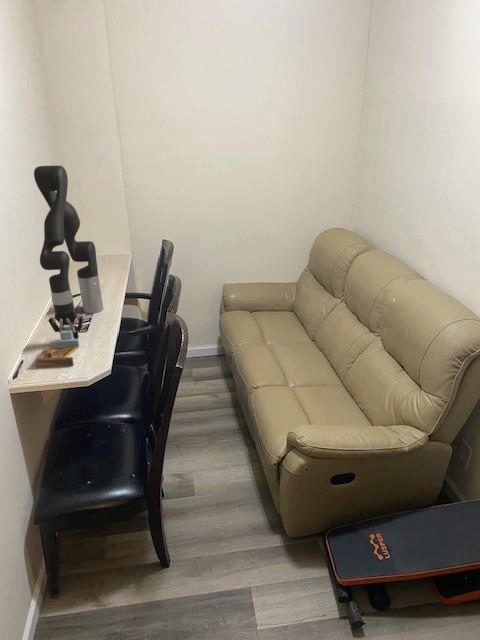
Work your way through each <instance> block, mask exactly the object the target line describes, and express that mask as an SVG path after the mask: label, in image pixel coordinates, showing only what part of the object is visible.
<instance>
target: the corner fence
mask: <svg viewBox="0 0 480 640" xmlns="http://www.w3.org/2000/svg"><path fill="white" fill-rule="evenodd" d="M52 351H53V348H52V345H51V344H47V345H45V347H44V348H43V350H42V351H41V352H40V353H39V355H38V356H37V358H36V359H35V365H36V366H35V367H36V368H37V369H45V368H61V367H63V368H64V367H73V366H74V365H75V364H74V357H73V356H67V357H63V358H52V357H50V356H51V354H50V352H52Z"/></svg>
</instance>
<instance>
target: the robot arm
mask: <svg viewBox="0 0 480 640" xmlns="http://www.w3.org/2000/svg"><path fill="white" fill-rule="evenodd" d="M33 177H34V178H33V179H34V181H35V184H36V187H37V188H38V190H39V192H40V194H41V195H42V197H43V198H44V200H45V201H46V203H47V205H48V207H49V211H48V212H47V214H46V217H45V219H44V223H43V231H44V232H43V233H44V234H43V235H44V239H43V245H42V248H41V252H40V256H39V264H40V266H41V268H42V269H43V270H46V271H55V270H56V271H59V273H58V274H57V273H56V274H54V275H51V276H50V277H49V278H48V282H49V288H50V291H51V292H50V293H51V301H52V306H53V310H54V316H50V317H49V319H48V323H49V325H50V326H51V328H52V329H53V331H54V333H59V335H60V340H62V338H61V331H62V330H63V328H64V327H65V325H70V327H71V328H72V330H73V335H74V339H79V332H80V331H81V330H82V328H83V324H84V318H85V316H84V315H77V313H76V310H75V305H74V298H73V293H72V291H71V288H70V287H71V286H70V281H69V269H70V264H71V263H70V261H71V260H72V261H73V262H76V263H87V265H85V266H84V267H82V268H79V269H78V270H77V271H76V273H77V274H76V275H77V280H78V281H77V282H78V285H79V286H78V287H79V292H80V298H81V303H82V304H81V305H82V310H83V312H84V313H86V314H95V313H99V312H102V311H103V310H104V303H103V297H102V291H101V284H100V279H99V271H98V269H99V268H98V263H97V262H98V261H97V251H96V246H95V243H94V242H93V241H88V240H87V241H85V240H84V241H76V236H77V233H78V232H79V229H80V226H81V220H80V219H81V218H79V215H78V212H77V210H76V208H75V207H74V206H73V205H72V204H71V203H70V202H69V201H67V195H68V185H69V180H68V173H67V171H66V168H65V167H64V166H62V165H39V166H36V167H35V168H34V171H33ZM64 243H65V244H66V245H65V246H66V247H67V251H68V253H69V254H68V253H67V252H66V251H64V250H54V248H56V247H59V246H63V244H64ZM70 258H71V259H70ZM76 319H77V322H78V323H77V322H76ZM57 322H58V323H59V324H57Z"/></svg>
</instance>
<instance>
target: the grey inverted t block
mask: <svg viewBox="0 0 480 640" xmlns="http://www.w3.org/2000/svg"><path fill="white" fill-rule="evenodd" d="M61 338H62V340H61ZM78 345H79V346H78ZM73 346H78V348H79V347H80V340H79V338H78V339H74V335H73V330H72V328H71V327H70V325H64V328H63V330H62V331H61V336H60V339H55V340H54V347H55V349H64V348H68V347H73Z"/></svg>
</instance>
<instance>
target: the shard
mask: <svg viewBox="0 0 480 640" xmlns="http://www.w3.org/2000/svg"><path fill="white" fill-rule="evenodd" d="M79 345H80V344H79ZM79 345H78V346H79ZM78 346H73V347H68V348H58V349H56V350H52V352H50V356H51V358H63V357H70V355H71V354H73V353H75V352H76V351H77V350H78V348H79V347H80V346H79V347H78Z"/></svg>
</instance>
